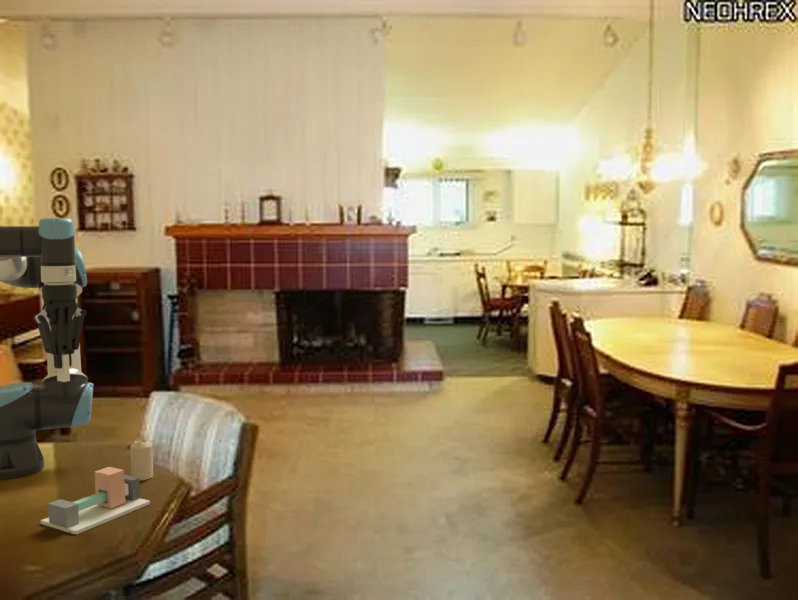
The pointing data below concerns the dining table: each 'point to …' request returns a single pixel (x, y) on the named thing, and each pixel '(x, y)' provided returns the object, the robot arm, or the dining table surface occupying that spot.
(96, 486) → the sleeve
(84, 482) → the dining table surface
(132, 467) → the candle
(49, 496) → the dining table surface
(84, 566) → the dining table surface
